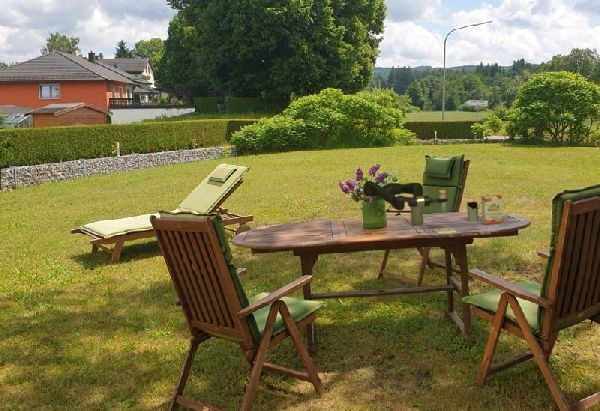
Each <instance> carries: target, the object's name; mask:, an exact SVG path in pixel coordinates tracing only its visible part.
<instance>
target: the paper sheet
mask: <svg viewBox="0 0 600 411" xmlns="http://www.w3.org/2000/svg"><path fill="white" fill-rule="evenodd" d="M432 231H433V232H435V233H437V234H438V233H440V234H453V233H457V230H456V229H454V228H452V227H441V228H433V229H432Z"/></svg>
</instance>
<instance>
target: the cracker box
mask: <svg viewBox="0 0 600 411" xmlns="http://www.w3.org/2000/svg"><path fill="white" fill-rule="evenodd" d="M480 198H481V199H480V200H481V201H480V203H481V204H480V206H481V213H482V214H481V223H482V225H491V224H492V225H493V224H503V202H502V201H503V196H502V195H501V194H500V195H499V194H495V195H493V194H492V195H481V196H480Z"/></svg>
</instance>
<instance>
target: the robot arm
mask: <svg viewBox="0 0 600 411" xmlns="http://www.w3.org/2000/svg"><path fill="white" fill-rule="evenodd" d="M362 190H363V191H362V194H363V195H364V196H365V197H380V198H381V199H382V201H384V202H386V203H388V204H390V205H391V207H393V208H394V209H395V210H396V211H403V210H404V209H405V206H406V204H405V203H407V205H408V207H409V208H410V222H411V226H424V213H423V212H424V210H423V208H424V207H430V206H431V204H440V203H442V202H446V203H447V202H448V198H447V197H446V198H445V199H442V198H441V199H439V197H430V195H424V186H423V185H422V183H419V182H408V183H397V182H394V183H393V182H388V183H386V184H384V185H383V186H381V185H379V184H378V183H376V182H374V181H373V180H367V181H365V182H364V184H363V189H362ZM402 194H409V195H412V196H410V197H409V196H404V195H402ZM439 200H440V201H439Z"/></svg>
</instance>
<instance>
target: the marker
mask: <svg viewBox="0 0 600 411" xmlns="http://www.w3.org/2000/svg"><path fill="white" fill-rule="evenodd" d="M438 196H439V197H438V198H439V199H441V198H442V199H445V198H447V192H446V189H439V190H438ZM439 201H440V200H439ZM439 212H440V213H441V214H445V213H447V202H442V203H439Z"/></svg>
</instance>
